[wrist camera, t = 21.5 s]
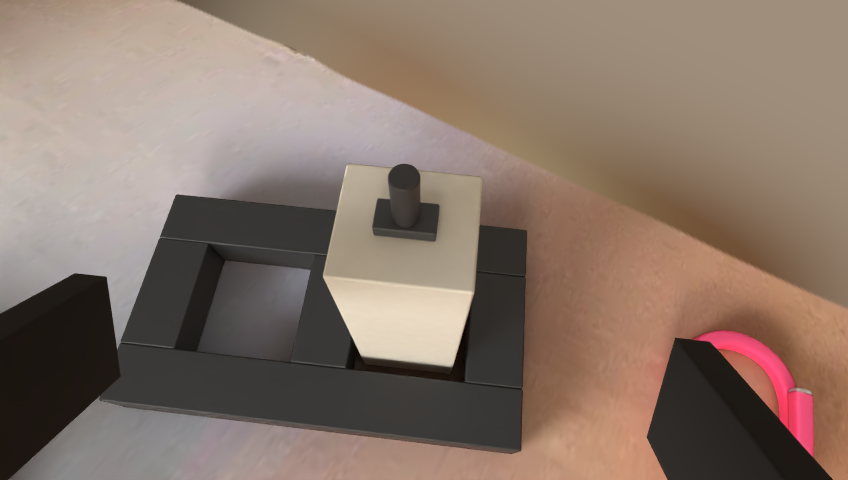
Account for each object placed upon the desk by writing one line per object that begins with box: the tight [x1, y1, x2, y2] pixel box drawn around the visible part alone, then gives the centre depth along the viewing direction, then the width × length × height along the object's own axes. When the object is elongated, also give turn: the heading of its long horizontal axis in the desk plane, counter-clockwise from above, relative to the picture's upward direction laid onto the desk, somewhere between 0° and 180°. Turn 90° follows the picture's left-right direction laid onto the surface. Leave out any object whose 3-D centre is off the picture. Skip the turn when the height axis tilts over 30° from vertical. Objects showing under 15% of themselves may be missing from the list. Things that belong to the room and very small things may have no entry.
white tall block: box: [323, 164, 483, 374], centre depth 19 cm, size 4×4×14 cm
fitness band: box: [693, 330, 814, 457], centre depth 22 cm, size 8×6×2 cm
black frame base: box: [99, 195, 527, 454], centre depth 24 cm, size 10×18×2 cm, turn 84°
